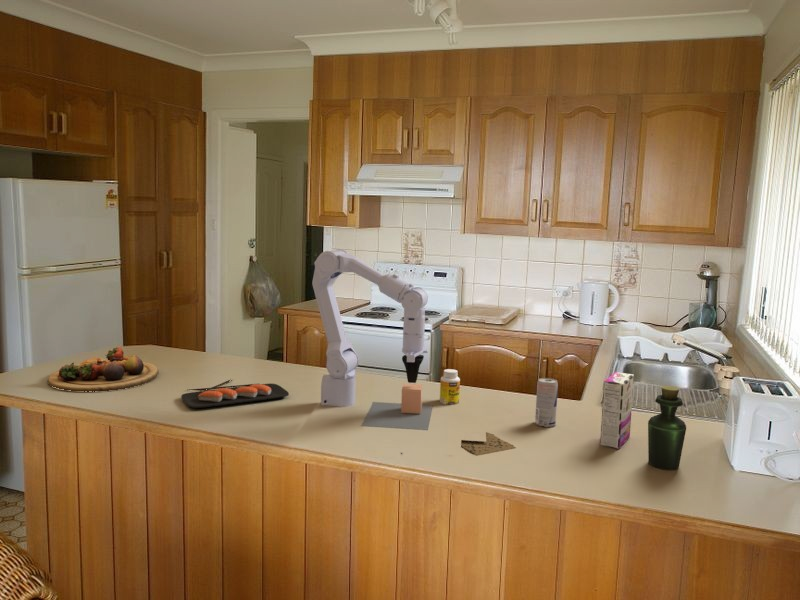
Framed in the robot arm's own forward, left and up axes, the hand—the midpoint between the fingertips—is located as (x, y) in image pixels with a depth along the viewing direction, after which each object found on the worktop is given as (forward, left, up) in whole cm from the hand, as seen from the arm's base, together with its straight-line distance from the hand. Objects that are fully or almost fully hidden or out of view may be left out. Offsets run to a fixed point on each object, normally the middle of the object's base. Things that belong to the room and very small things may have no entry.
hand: (412, 382), depth 181 cm
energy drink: (+36, -1, -9) cm, 37 cm away
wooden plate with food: (-99, +18, -10) cm, 101 cm away
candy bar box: (+52, -11, -9) cm, 54 cm away
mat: (-3, -4, -9) cm, 10 cm away
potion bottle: (+60, -25, -9) cm, 66 cm away
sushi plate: (-56, +11, -10) cm, 58 cm away
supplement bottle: (+10, +11, -9) cm, 18 cm away
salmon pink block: (0, 0, -8) cm, 8 cm away
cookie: (+19, -19, -10) cm, 29 cm away
